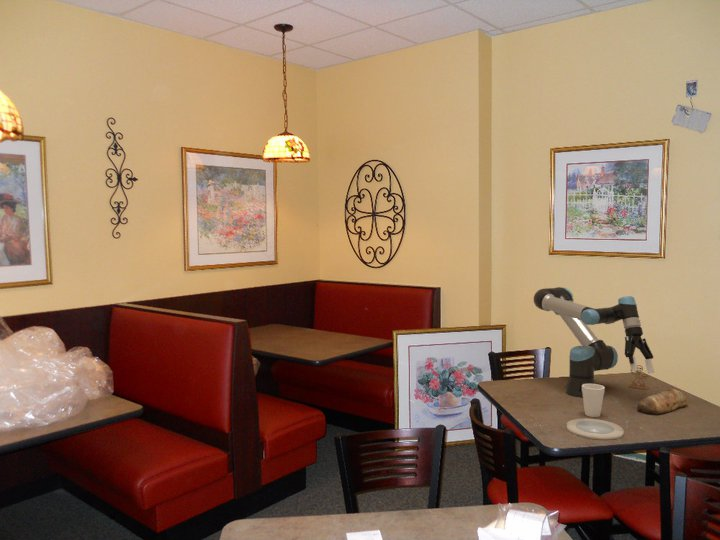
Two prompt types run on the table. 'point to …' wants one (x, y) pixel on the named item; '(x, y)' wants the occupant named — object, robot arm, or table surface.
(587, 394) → the foam cup
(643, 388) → the gingerbread man figurine
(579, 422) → the plate
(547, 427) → the table surface
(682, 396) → the bread loaf
